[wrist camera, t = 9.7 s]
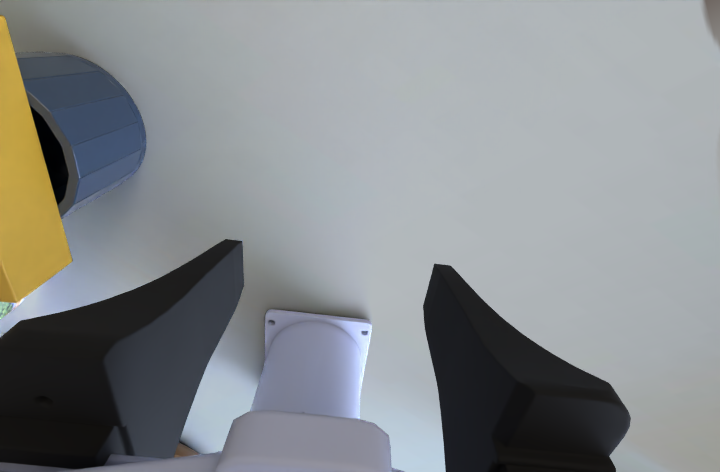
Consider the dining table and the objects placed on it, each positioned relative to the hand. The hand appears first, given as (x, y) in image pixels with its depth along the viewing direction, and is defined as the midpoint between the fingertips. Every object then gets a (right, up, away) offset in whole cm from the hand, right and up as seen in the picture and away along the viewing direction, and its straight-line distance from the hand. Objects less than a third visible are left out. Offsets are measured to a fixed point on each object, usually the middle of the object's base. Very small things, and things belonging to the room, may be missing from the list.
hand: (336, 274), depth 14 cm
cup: (-16, +8, +8) cm, 19 cm away
